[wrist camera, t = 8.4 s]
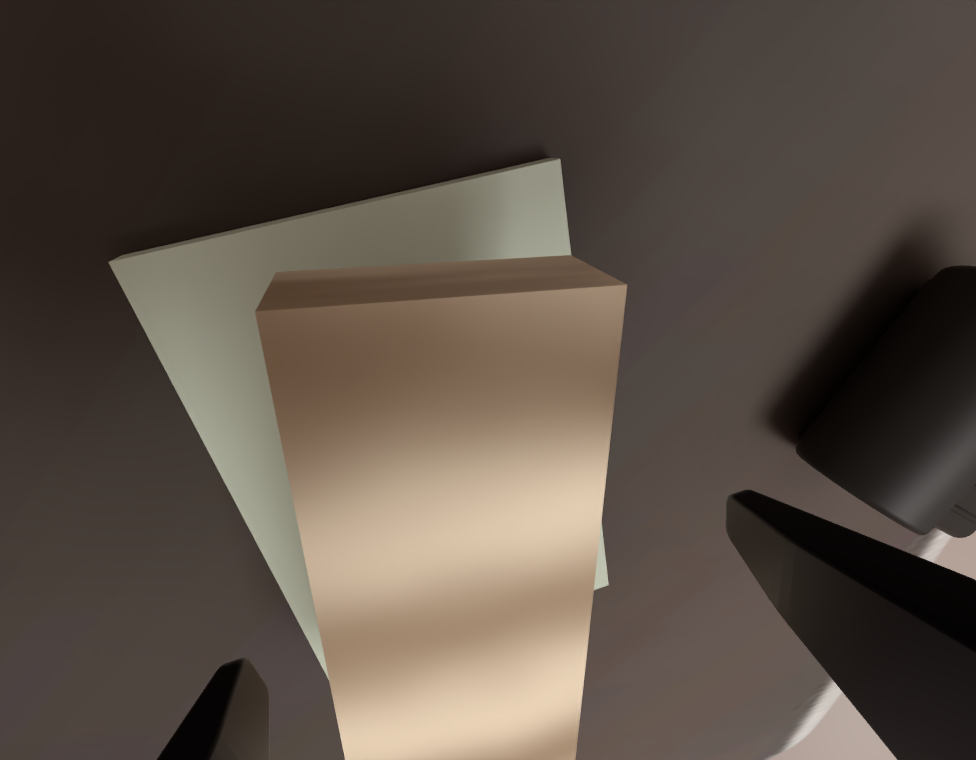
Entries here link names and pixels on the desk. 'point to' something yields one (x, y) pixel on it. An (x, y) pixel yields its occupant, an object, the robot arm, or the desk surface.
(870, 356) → the end cap
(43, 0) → the desk surface
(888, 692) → the robot arm
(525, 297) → the shelf board
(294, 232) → the peg plate
